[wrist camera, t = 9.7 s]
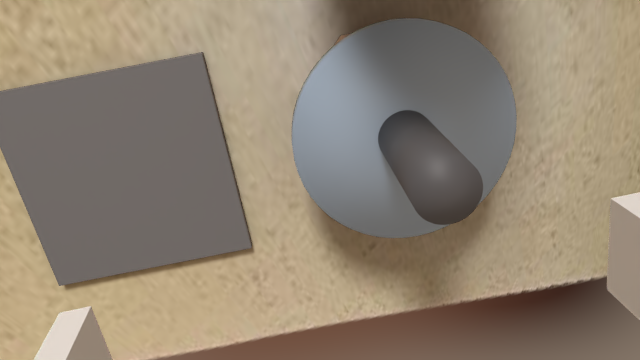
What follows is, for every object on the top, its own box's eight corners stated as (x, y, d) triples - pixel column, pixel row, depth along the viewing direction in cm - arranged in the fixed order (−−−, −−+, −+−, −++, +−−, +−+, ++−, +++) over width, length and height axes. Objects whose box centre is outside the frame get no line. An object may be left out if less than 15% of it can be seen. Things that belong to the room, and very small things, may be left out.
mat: (62, 281, 40) (59, 285, 39) (-17, 94, 34) (-22, 96, 34) (251, 244, 40) (251, 247, 39) (202, 52, 34) (201, 53, 34)
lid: (313, 248, 35) (326, 339, 26) (270, 42, 30) (270, 74, 21) (513, 208, 35) (590, 286, 26) (504, -3, 30) (595, 11, 22)
